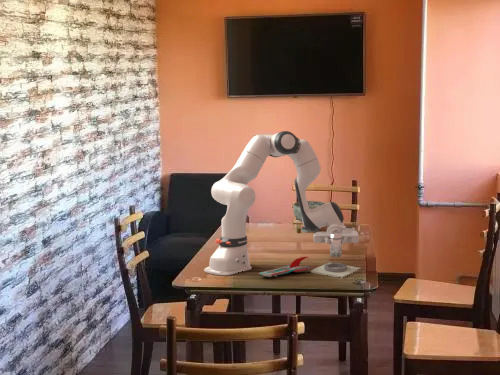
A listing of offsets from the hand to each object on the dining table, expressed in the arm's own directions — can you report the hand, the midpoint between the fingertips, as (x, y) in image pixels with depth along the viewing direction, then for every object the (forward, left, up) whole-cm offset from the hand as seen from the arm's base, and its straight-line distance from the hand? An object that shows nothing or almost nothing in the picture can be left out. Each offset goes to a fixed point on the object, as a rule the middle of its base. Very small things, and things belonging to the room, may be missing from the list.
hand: (336, 241), depth 318 cm
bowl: (+62, +51, -14) cm, 81 cm away
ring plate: (0, 0, -13) cm, 13 cm away
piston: (+1, 0, -6) cm, 7 cm away
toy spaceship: (-16, +16, -13) cm, 26 cm away
